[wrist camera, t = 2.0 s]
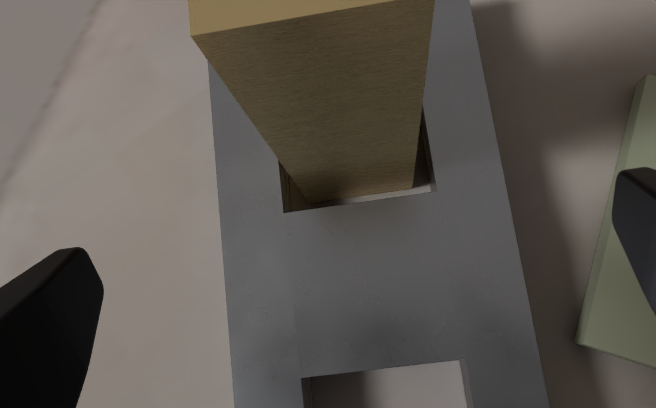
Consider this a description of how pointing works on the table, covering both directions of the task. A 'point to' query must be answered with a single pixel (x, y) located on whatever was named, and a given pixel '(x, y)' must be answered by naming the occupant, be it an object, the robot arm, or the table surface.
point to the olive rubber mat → (622, 256)
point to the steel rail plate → (380, 254)
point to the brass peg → (326, 84)
